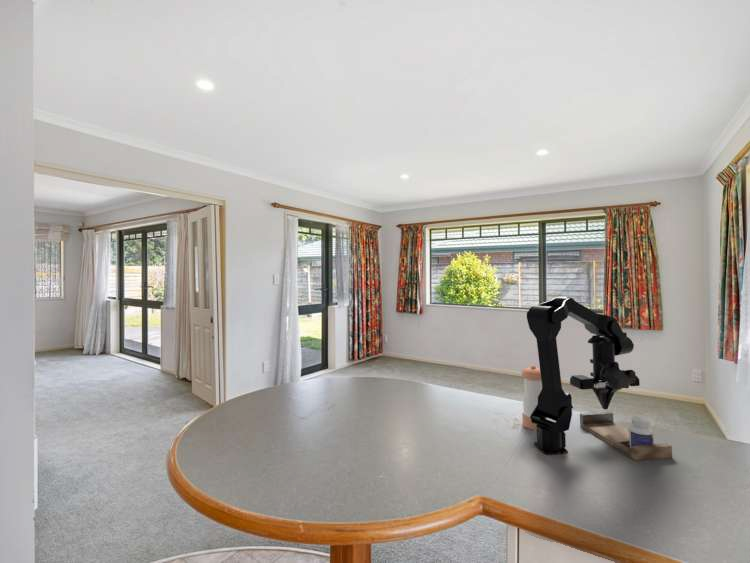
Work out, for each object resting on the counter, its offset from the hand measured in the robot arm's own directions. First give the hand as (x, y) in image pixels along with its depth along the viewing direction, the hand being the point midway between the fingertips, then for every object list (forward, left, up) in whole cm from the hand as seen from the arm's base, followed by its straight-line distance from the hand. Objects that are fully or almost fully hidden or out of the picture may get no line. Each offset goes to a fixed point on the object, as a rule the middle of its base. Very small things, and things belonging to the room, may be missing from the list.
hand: (605, 408), depth 115 cm
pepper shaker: (-18, +8, -7) cm, 21 cm away
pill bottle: (0, -14, -7) cm, 16 cm away
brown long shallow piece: (0, -7, -7) cm, 10 cm away
